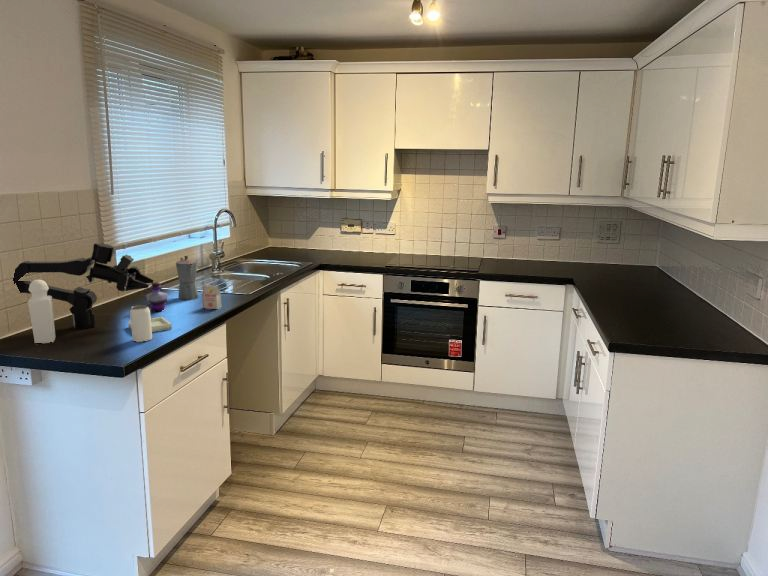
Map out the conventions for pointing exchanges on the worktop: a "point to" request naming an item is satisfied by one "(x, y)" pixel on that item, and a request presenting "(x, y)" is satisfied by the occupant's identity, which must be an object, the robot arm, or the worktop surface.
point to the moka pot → (187, 279)
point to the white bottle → (41, 312)
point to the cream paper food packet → (211, 297)
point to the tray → (158, 324)
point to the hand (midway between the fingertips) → (150, 283)
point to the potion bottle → (157, 298)
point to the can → (141, 323)
